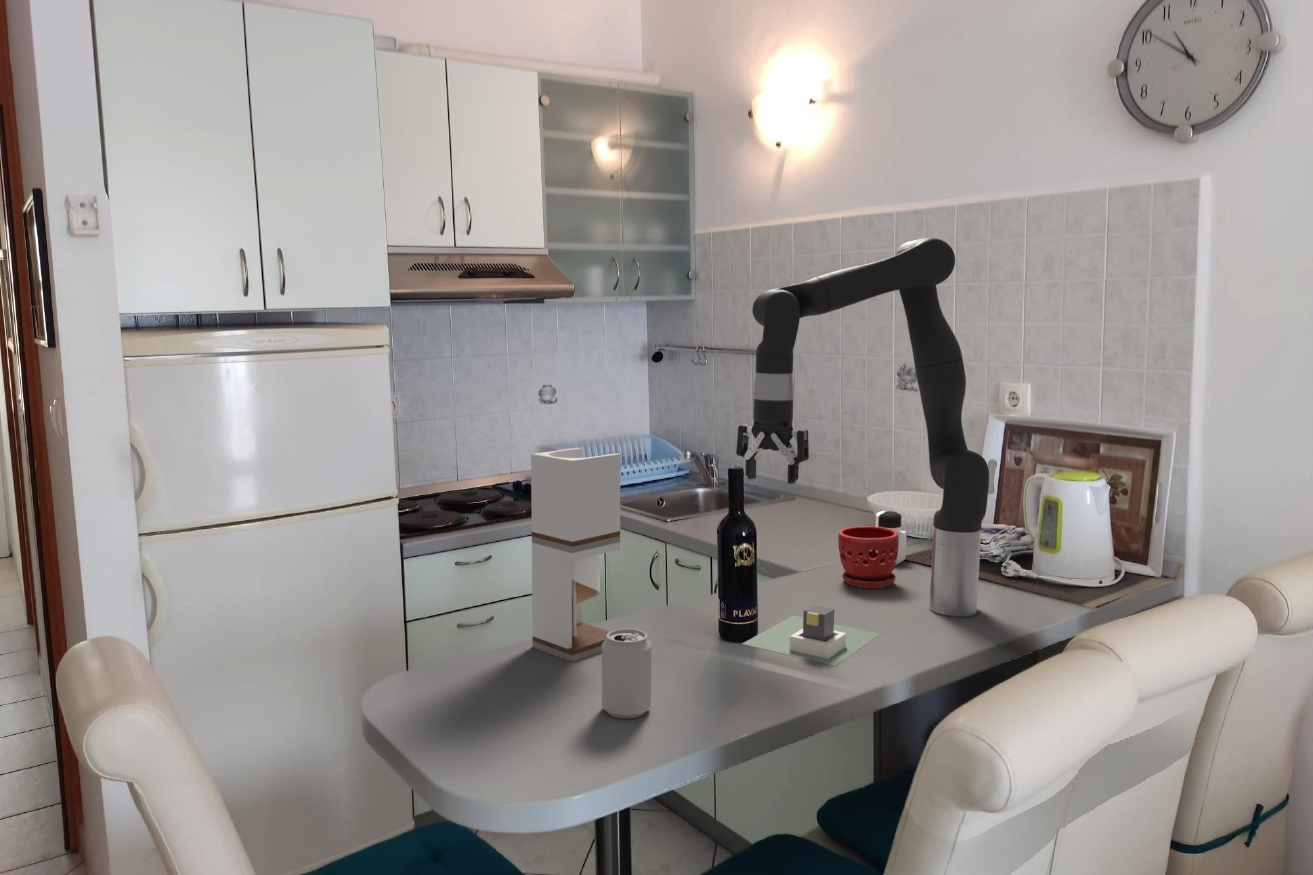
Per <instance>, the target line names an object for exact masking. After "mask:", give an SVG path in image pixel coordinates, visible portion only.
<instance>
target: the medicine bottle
mask: <svg viewBox="0 0 1313 875" xmlns="http://www.w3.org/2000/svg"><path fill="white" fill-rule="evenodd" d="M875 527H884V528H889V529H892V530H895V531H897V532H898V536H899V545H898V556H897V561H896V564H895V566H897V565H898V564H900V563H902V562H904V561H905V559H906V552H907V531H905V530H902V514H901V513H898V512H897V511H891V510H882V511H881V510H880V511H879V512H877V513H876V514H875ZM870 551H872V550H870ZM876 552H877V553H878V551H877V550H876Z"/></svg>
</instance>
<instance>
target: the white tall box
mask: <svg viewBox="0 0 1313 875" xmlns="http://www.w3.org/2000/svg"><path fill="white" fill-rule="evenodd" d="M583 452H584V448H583V447H574V448H566V449H558V450H552V451H544V452H537V453H536V452H535V453H531V454H530V456H531V457H530V459H531V461H530V462H531V463H530V464H531V465H530V466H531V468H530V470H531V476H530V477H531V478H530V479H531V482H530V483H531V490H530V492H531V598H532V599H531V605H532V606H531V610H532V612H531V614H532V616H531V617H532V618H531V619H532V622H531V623H532V624H531V625H532V628H531V629H532V641H531V642H532V643H531V644H532V648H533V649H534V648H535V649H537V650H540V651H541V652H545V653H547V654H550V655H553V656H554V657H555V656H556V657H558V658H561V659H563V660H566V661H569V662H571V663H574V662H577V661H579V660H583V659H586V658H589V657H590V656H594V655H597V654H600V653H602V644H603V642H604V641H605V640H606V639H607V638H606V635H607V633H609V632H610V631H609V630H606V629H603V628H601V627H597V626H595V625H591V624H588V623H585V622H584V619H583V618H584V616H583V614H584V612H583V611H584V610H583V606H584V605H583V603H584V602H585V601H588V600H590V599H592V598H595V597H596V596H599V595H600V560H601V559H600V558H601V557H600V555H603V554H608V553H611V552H616V551H620V550H621V468H622V467H621V466H622V465H621V464H622V462H621V458H622V456H621V453H617V452H616V453H609V454H603V455H596V456H588V457H583V456H584V455H583V454H584V453H583Z"/></svg>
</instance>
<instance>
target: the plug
mask: <svg viewBox="0 0 1313 875" xmlns="http://www.w3.org/2000/svg"><path fill="white" fill-rule="evenodd" d="M802 618H803V637H805V638H810V639H814V640H819V641H823V642H827V641H828V640H830V639H831V638H833V635H834V624H835V608H831V607H825V606H820V605H815V604H813V605H811V606H809V607H808V608H806V609H804V610H803V616H802Z"/></svg>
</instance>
